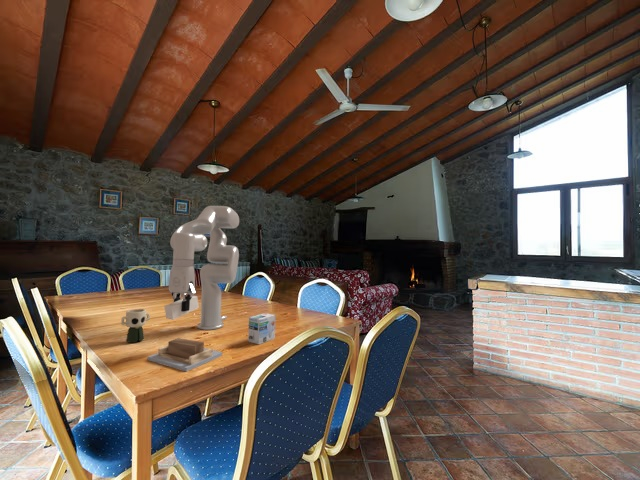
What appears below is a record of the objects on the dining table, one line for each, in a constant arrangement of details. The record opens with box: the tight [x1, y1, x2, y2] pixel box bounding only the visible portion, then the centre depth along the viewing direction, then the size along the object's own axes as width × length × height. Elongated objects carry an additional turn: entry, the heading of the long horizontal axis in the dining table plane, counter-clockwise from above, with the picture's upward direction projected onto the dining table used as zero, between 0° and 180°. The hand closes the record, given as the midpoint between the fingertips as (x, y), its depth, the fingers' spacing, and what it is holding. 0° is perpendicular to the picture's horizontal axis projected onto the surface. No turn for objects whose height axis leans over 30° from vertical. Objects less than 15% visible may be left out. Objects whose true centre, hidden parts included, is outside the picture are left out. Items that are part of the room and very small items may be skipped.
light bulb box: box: [247, 312, 276, 345], centre depth 130 cm, size 11×7×11 cm, turn 148°
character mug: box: [120, 308, 151, 343], centre depth 124 cm, size 11×7×13 cm, turn 145°
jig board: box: [147, 347, 223, 372], centre depth 108 cm, size 16×20×1 cm
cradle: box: [157, 345, 214, 365], centre depth 107 cm, size 9×17×2 cm, turn 64°
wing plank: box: [164, 295, 200, 320], centre depth 116 cm, size 12×4×5 cm, turn 153°
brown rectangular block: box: [167, 337, 205, 359], centre depth 107 cm, size 4×12×5 cm, turn 71°
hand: (181, 309), depth 115 cm, fingers closed on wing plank, 4 cm apart
